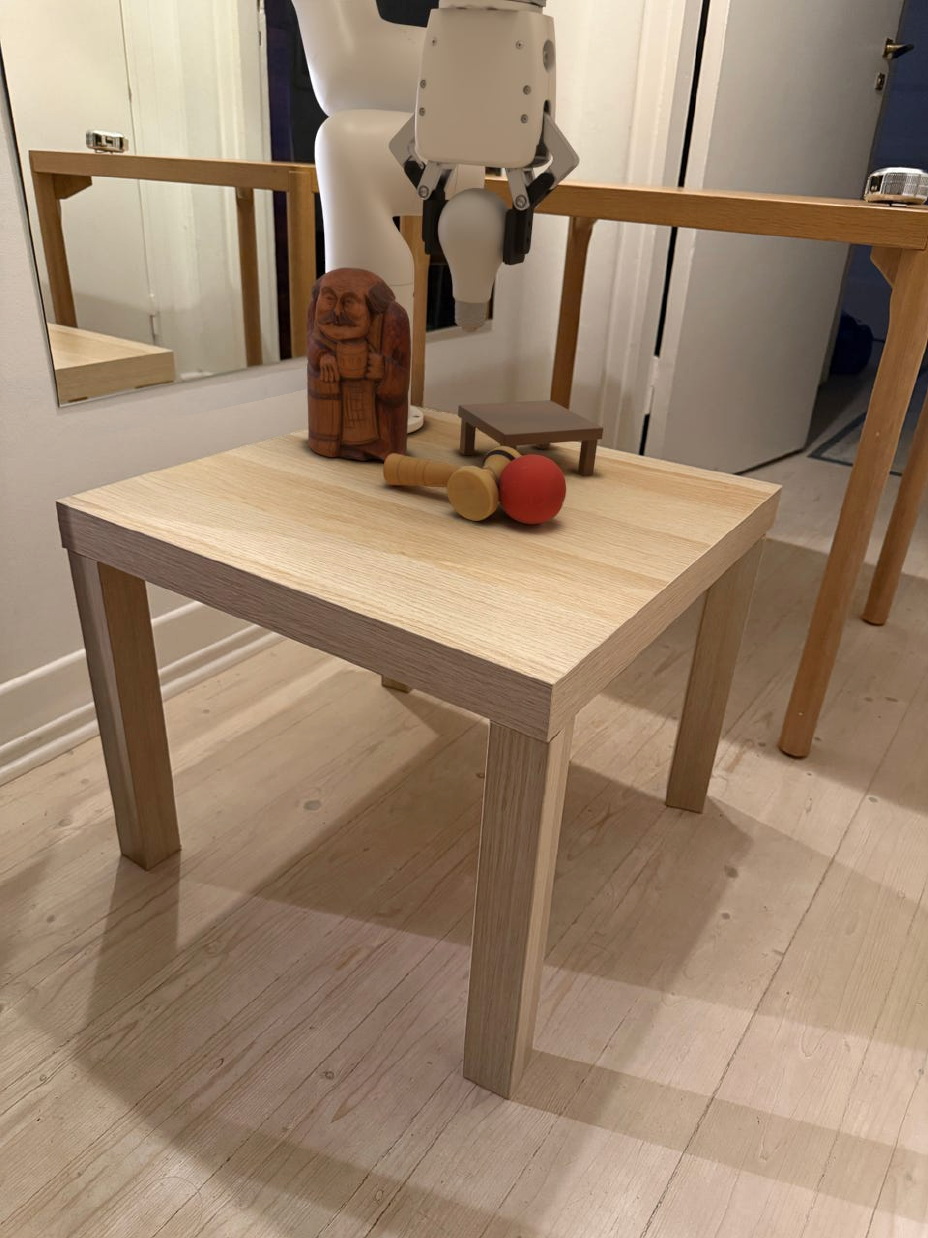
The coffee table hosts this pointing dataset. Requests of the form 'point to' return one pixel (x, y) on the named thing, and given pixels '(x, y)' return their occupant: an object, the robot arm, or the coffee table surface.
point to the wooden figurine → (357, 367)
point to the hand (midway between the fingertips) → (474, 255)
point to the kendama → (489, 484)
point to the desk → (530, 427)
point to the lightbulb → (473, 250)
